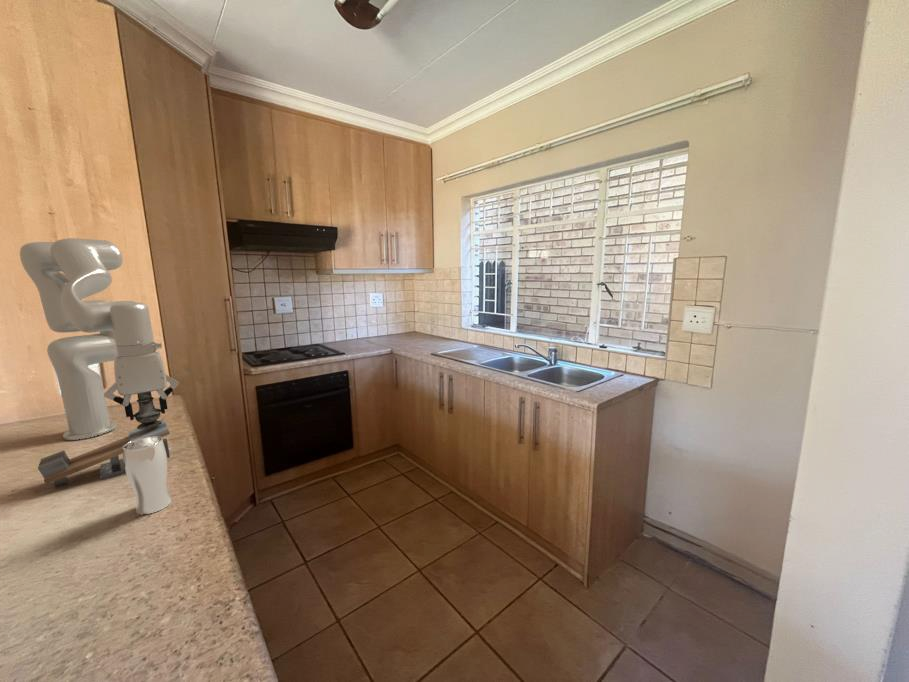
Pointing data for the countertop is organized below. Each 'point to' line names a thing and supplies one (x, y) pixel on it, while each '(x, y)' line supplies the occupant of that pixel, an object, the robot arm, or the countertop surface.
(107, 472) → the beam stand
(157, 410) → the chess piece
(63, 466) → the beam
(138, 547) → the countertop surface
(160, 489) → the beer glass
